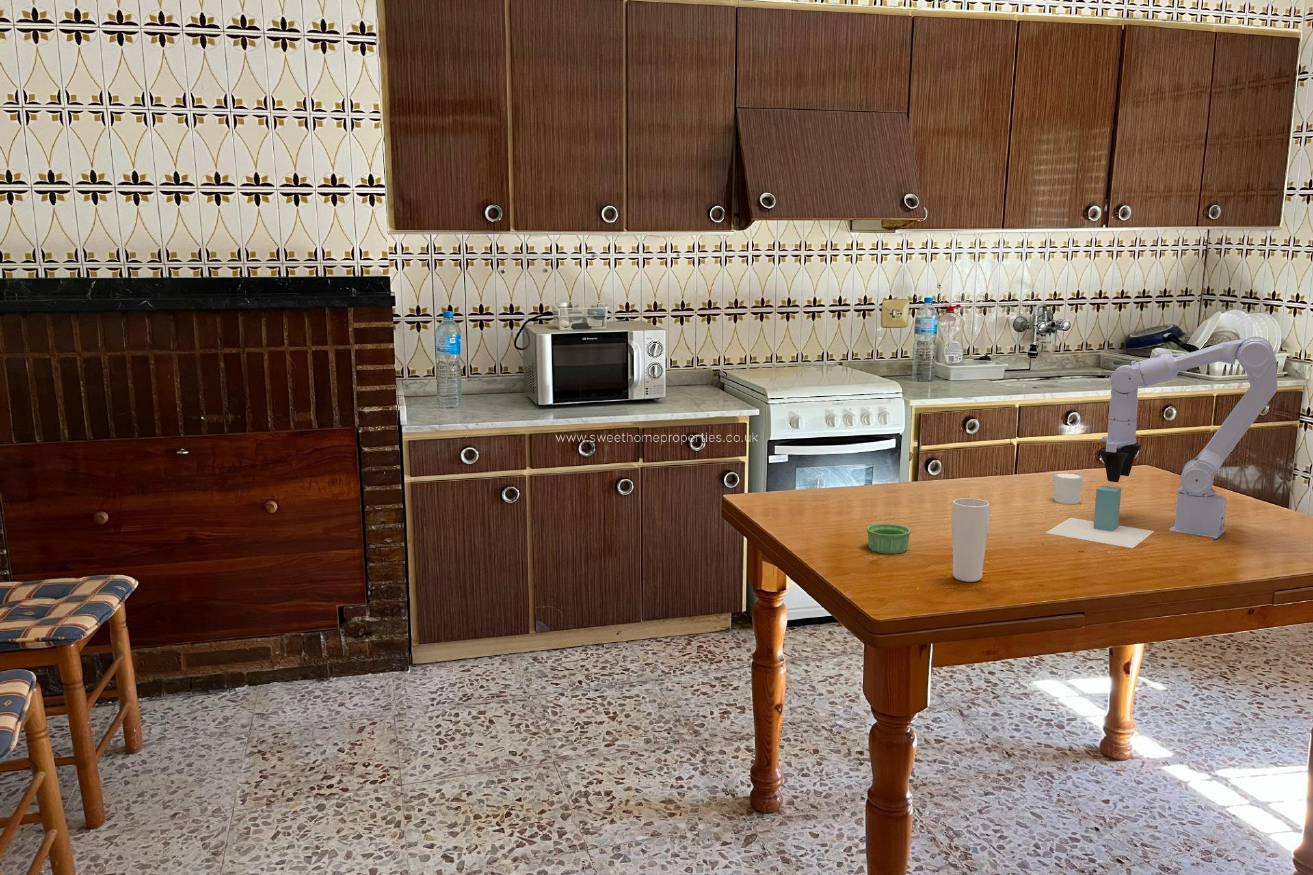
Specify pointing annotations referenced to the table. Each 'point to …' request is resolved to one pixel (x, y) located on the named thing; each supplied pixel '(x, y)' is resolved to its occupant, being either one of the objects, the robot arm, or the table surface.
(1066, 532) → the white mat
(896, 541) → the ramekin
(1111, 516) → the teal block
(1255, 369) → the robot arm
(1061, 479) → the white cylinder
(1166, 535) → the table surface
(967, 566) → the drinking glass
